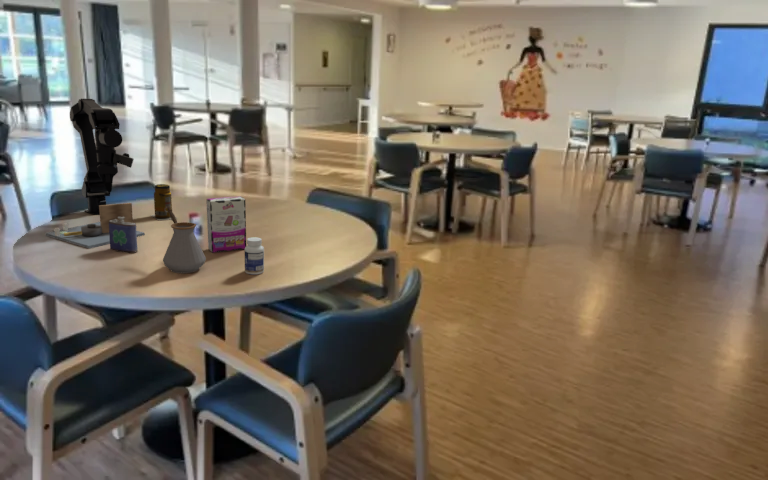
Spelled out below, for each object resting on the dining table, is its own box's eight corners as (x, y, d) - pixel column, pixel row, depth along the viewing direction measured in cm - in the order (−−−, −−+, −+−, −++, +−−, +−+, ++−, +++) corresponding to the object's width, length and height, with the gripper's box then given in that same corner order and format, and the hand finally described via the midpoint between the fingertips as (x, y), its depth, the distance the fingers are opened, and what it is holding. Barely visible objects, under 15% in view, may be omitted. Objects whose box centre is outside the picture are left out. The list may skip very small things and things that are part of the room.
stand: (45, 235, 186) (44, 225, 185) (101, 223, 203) (101, 214, 202) (89, 248, 176) (88, 238, 175) (144, 235, 193) (144, 225, 192)
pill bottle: (246, 268, 168) (245, 236, 165) (264, 269, 168) (265, 236, 165) (243, 274, 162) (243, 241, 160) (262, 275, 163) (262, 242, 160)
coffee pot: (211, 272, 163) (210, 220, 159) (169, 278, 157) (167, 224, 152) (189, 251, 180) (187, 204, 176) (150, 255, 173) (147, 206, 169)
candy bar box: (241, 245, 189) (241, 195, 185) (246, 249, 185) (246, 198, 181) (207, 248, 183) (205, 197, 179) (211, 253, 179) (210, 201, 175)
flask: (139, 251, 177) (137, 217, 174) (133, 254, 174) (130, 219, 171) (114, 247, 179) (111, 213, 176) (107, 250, 176) (104, 215, 173)
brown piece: (66, 239, 180) (63, 210, 178) (62, 234, 185) (59, 206, 182) (135, 231, 193) (133, 205, 190) (130, 227, 197) (128, 201, 195)
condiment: (169, 213, 222) (168, 183, 219) (177, 218, 216) (176, 187, 212) (150, 215, 217) (148, 184, 214) (157, 221, 211) (156, 188, 208)
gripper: (132, 147, 193) (136, 193, 197) (129, 144, 210) (133, 188, 213) (94, 147, 189) (99, 195, 192) (95, 145, 205) (100, 189, 208)
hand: (109, 192), depth 201 cm, fingers closed
